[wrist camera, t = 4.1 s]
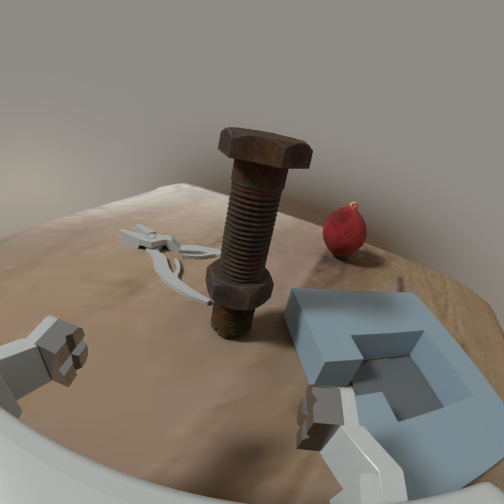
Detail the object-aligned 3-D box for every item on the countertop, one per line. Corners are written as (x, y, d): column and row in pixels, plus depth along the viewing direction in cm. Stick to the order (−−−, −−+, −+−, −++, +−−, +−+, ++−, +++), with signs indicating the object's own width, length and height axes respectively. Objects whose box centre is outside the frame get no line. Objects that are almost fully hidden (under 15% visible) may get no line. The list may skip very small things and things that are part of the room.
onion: (335, 269, 37) (354, 209, 33) (308, 248, 41) (323, 193, 38) (364, 265, 40) (382, 211, 36) (337, 246, 44) (352, 195, 40)
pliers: (206, 295, 25) (97, 238, 30) (205, 309, 26) (98, 251, 31) (257, 256, 34) (156, 216, 39) (254, 268, 34) (155, 227, 39)
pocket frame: (501, 459, 12) (526, 437, 11) (363, 537, 9) (393, 524, 8) (402, 315, 30) (413, 292, 28) (283, 315, 27) (291, 287, 25)
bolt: (193, 307, 25) (217, 124, 19) (249, 305, 27) (285, 134, 21) (206, 356, 21) (240, 133, 14) (271, 351, 22) (327, 149, 16)
